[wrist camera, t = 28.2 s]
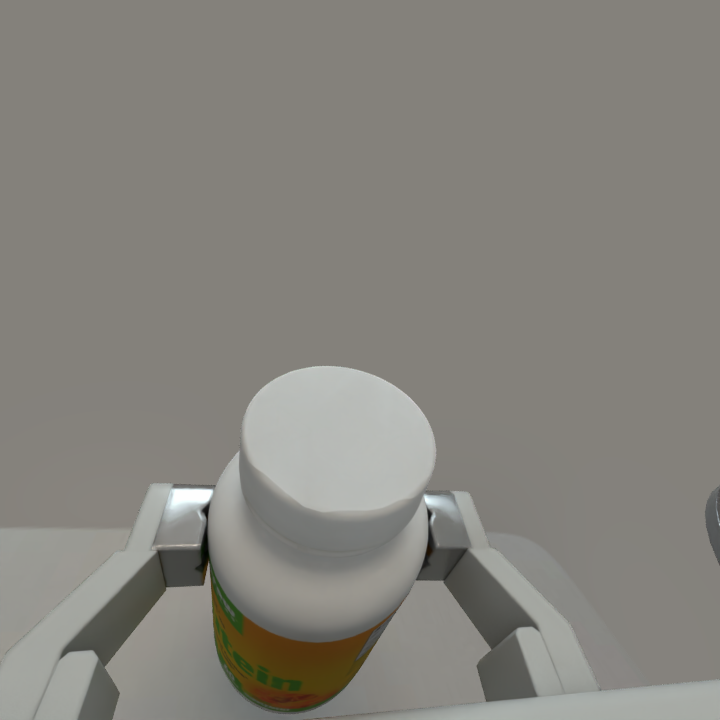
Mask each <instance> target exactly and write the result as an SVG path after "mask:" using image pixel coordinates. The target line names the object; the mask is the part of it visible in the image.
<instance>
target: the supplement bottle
mask: <svg viewBox="0 0 720 720" xmlns="http://www.w3.org/2000/svg"><path fill="white" fill-rule="evenodd" d="M435 460H436V445H435V440H434V435H433V432H432V429H431V427H430V425H429V422H428V421H427V419H426V417H425V415H424V414H423V412H422V411H421V410H420V408H419V407H418V406H417V405H416V404H415V403H414V402H413V401H412V400H411V399H410V398H409V396H407V395H406V394H405V393H403V392H402V391H401V390H400V389H398V388H397V387H395V386H394V385H392V384H391V383H389V382H387V381H385V380H383V379H381V378H379V377H377V376H374V375H371V374H369V373H366V372H363V371H359V370H356V369H351V368H345V367H337V366H317V367H309V368H303V369H298V370H295V371H292V372H289V373H286V374H284V375H282V376H280V377H278V378H276V379H274V380H272V381H271V382H269V383H268V384H267V385H266V386H264V387H263V388H262V389H261V390H260V391H259V392H258V393H257V394H256V395H255V397H254V398H253V400H252V401H251V402H250V404H249V406H248V407H247V410H246V412H245V415H244V417H243V421H242V426H241V437H240V450H239V451H238V452H237V454H236V455H235V456H234V457H233V458H232V460H231V461H230V462H229V464H228V465H227V466H226V468H225V469H224V471H223V473H222V475H221V477H220V478H219V480H218V482H217V485H216V487H215V489H214V491H213V495H212V498H211V502H210V507H209V513H208V526H207V537H208V554H209V564H210V578H211V591H212V607H213V627H214V638H215V645H216V649H217V653H218V657H219V661H220V663H221V666H222V668H223V671H224V673H225V675H226V677H227V678H228V680H229V681H230V683H231V684H232V686H233V687H234V688H235V689H236V691H237V692H238V693H239V694H240V695H241V696H242V697H243V698H245V699H246V700H247V701H249V702H250V703H251V704H253V705H255V706H257V707H259V708H261V709H263V710H266V711H269V712H273V713H279V714H298V713H304V712H307V711H310V710H314V709H316V708H318V707H320V706H322V705H324V704H326V703H327V702H329V701H330V700H332V699H333V698H334V697H335V696H337V695H338V694H339V693H340V692H341V691H342V690H343V689H344V688H345V687H346V686H347V685H348V684H349V682H350V681H351V680H352V679H353V677H354V676H355V675H356V673H357V672H358V671H359V669H360V668H361V666H362V665H363V663H364V661H365V660H366V658H367V657H368V655H369V653H370V652H371V650H372V649H373V647H374V645H375V644H376V642H377V641H378V639H379V638H380V636H381V634H382V633H383V631H384V630H385V628H386V627H387V625H388V623H389V622H390V620H391V619H392V617H393V616H394V614H395V613H396V611H397V610H398V608H399V607H400V606H401V604H402V602H403V601H404V599H405V598H406V597H407V595H408V594H409V592H410V590H411V588H412V586H413V584H414V582H415V580H416V578H417V576H418V574H419V572H420V570H421V567H422V564H423V561H424V557H425V553H426V549H427V542H428V514H427V507H426V503H425V499H424V496H423V495H424V493H425V491H426V489H427V486H428V484H429V482H430V479H431V477H432V474H433V471H434V467H435Z"/></svg>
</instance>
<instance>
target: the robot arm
mask: <svg viewBox="0 0 720 720" xmlns="http://www.w3.org/2000/svg"><path fill="white" fill-rule="evenodd" d="M215 487H216V485H186V484H162V483H152V484H151V485H150V487H149V488H148V490H147V492H146V494H145V497H144V500H143V502H142V505H141V507H140V510H139V512H138V515H137V518H136V520H135V523H134V525H133V528H132V531H131V533H130V536H129V538H128V541H127V544H126V546H125V549H124V550H121V551H116V552H115V553H114V554H113V555H112V556H111V557H109V558H108V559H107V560H106V561H105V562H104V563H103V564H102V565H101V566H100V567H99V568H98V569H96V570H95V571H94V572H93V573H92V574H91V575H90V576H89V577H88V578H87V579H86V580H84V581H83V582H82V583H81V584H80V585H79V586H78V587H77V588H76V589H75V590H74V591H72V592H71V593H70V594H69V595H68V596H67V597H66V598H65V599H64V600H63V601H62V602H61V603H59V604H58V605H57V606H56V607H55V608H54V609H53V610H52V611H51V612H50V613H49V614H47V615H46V616H45V617H44V618H43V619H42V620H41V621H40V622H39V623H38V624H37V625H35V626H34V627H33V628H32V629H31V630H30V631H29V632H28V633H27V634H26V635H25V636H23V637H22V638H21V639H20V640H19V641H18V642H17V643H16V644H15V645H14V646H13V647H12V648H10V649H9V650H8V651H7V652H6V654H5V656H4V658H3V659H2V661H1V663H0V720H112V719H113V715H114V712H115V708H116V705H117V701H118V698H119V694H120V693H119V691H118V689H117V687H116V685H115V684H114V682H113V681H112V679H111V677H110V676H109V674H108V672H107V671H106V669H105V668H104V667H105V666H106V665H107V663H108V662H109V661H110V660H111V658H112V657H113V656H114V655H115V653H116V652H117V651H118V650H119V648H120V647H121V646H122V645H123V643H124V642H125V641H126V640H127V638H128V637H129V636H130V635H131V633H132V632H133V631H134V630H135V628H136V627H137V626H138V625H139V623H140V622H141V621H142V620H143V618H144V617H145V616H146V615H147V613H148V612H149V611H150V610H151V608H152V607H153V606H154V605H155V603H156V602H157V601H158V600H159V598H160V597H161V596H162V595H163V593H164V592H165V591H166V587H184V586H203V585H204V581H205V576H206V571H207V566H208V562H209V554H208V537H207V526H208V513H209V507H210V502H211V498H212V495H213V491H214V489H215ZM423 496H424V499H425V503H426V507H427V514H428V542H427V549H426V553H425V557H424V561H423V564H422V567H421V570H420V572H419V574H418V576H417V578H416V580H430V581H444V584H445V585H446V586H447V588H448V589H449V591H450V592H451V593H452V595H453V596H454V598H455V599H456V600H457V602H458V603H459V605H460V606H461V607H462V609H463V610H464V612H465V613H466V614H467V616H468V617H469V618H470V620H471V621H472V623H473V624H474V625H475V627H476V628H477V630H478V631H479V632H480V634H481V635H482V637H483V638H484V639H485V641H486V642H487V644H488V645H489V646H490V648H491V649H492V650H491V651H490V652H489V653H488V654H486V655H485V656H484V657H483V658H482V659H481V660H480V661H479V663H478V665H477V669H478V673H479V676H480V680H481V684H482V688H483V691H484V695H485V699H486V702H480V703H470V704H460V705H449V706H439V707H429V708H418V709H408V710H398V711H388V712H377V713H367V714H357V715H346V716H336V717H326V718H315V719H305V720H720V679H717V680H708V681H697V682H686V683H676V684H666V685H656V686H645V687H635V688H625V689H614V690H604V691H601V689H600V687H599V685H598V682H597V680H596V678H595V676H594V674H593V672H592V670H591V667H590V665H589V663H588V661H587V659H586V657H585V655H584V652H583V650H582V648H581V646H580V644H579V642H578V640H577V637H576V635H575V633H574V631H573V629H572V627H571V625H570V623H569V622H568V621H567V620H566V619H565V618H564V617H563V616H562V615H561V614H560V613H559V612H558V611H557V610H556V609H555V608H554V607H553V606H552V605H551V604H550V603H549V602H548V601H547V600H546V599H545V598H544V597H543V596H542V595H541V594H540V593H539V592H538V591H537V590H536V589H535V588H534V586H533V585H532V584H531V583H530V582H529V581H528V580H527V579H526V578H525V577H524V576H523V575H522V574H521V573H520V572H519V571H518V570H517V569H516V568H515V567H514V566H513V565H512V564H511V563H510V562H509V561H508V560H507V559H506V558H505V557H504V556H503V555H502V554H501V553H500V552H499V551H498V550H497V549H496V548H491V547H490V544H489V542H488V539H487V536H486V534H485V531H484V529H483V526H482V524H481V521H480V518H479V516H478V513H477V510H476V508H475V506H474V503H473V500H472V497H471V495H470V494H469V493H468V492H465V491H425V493H424V495H423Z"/></svg>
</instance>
